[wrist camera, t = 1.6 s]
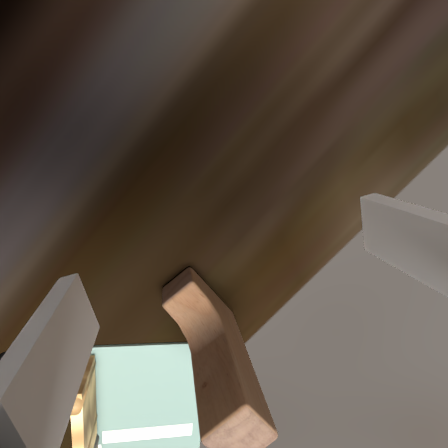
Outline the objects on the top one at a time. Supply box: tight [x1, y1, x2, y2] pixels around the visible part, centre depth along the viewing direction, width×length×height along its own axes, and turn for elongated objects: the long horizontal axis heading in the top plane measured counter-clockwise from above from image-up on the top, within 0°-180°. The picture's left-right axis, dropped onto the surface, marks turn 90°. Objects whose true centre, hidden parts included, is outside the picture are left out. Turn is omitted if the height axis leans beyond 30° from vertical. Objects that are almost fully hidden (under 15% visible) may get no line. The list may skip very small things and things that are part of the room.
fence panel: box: [71, 355, 97, 448], centre depth 36 cm, size 12×1×7 cm, turn 175°
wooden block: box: [162, 267, 278, 448], centre depth 31 cm, size 9×4×18 cm, turn 38°
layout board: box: [90, 342, 200, 448], centre depth 43 cm, size 17×28×1 cm, turn 175°
